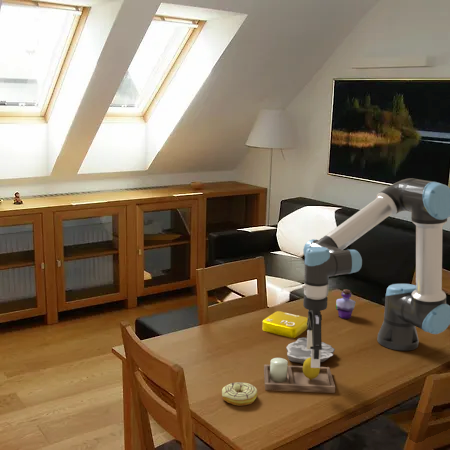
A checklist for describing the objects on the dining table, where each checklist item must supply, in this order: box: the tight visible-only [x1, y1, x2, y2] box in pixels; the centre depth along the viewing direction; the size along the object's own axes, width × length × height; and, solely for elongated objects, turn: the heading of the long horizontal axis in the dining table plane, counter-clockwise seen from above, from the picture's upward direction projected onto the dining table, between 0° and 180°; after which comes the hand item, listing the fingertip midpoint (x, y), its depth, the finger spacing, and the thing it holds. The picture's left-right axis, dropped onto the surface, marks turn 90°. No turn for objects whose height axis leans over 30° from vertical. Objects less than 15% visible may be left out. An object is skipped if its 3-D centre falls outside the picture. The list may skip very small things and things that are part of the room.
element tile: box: [261, 310, 309, 339], centre depth 234 cm, size 15×15×5 cm
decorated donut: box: [221, 381, 258, 407], centre depth 178 cm, size 10×11×4 cm
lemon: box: [302, 357, 320, 380], centre depth 189 cm, size 6×6×8 cm
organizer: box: [263, 364, 336, 394], centre depth 190 cm, size 22×14×2 cm, turn 88°
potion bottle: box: [335, 288, 356, 320], centre depth 247 cm, size 9×9×12 cm
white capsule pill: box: [269, 357, 289, 383], centre depth 189 cm, size 6×6×6 cm
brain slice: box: [285, 337, 336, 365], centre depth 209 cm, size 20×17×3 cm
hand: (313, 357), depth 188 cm, fingers open, 13 cm apart
